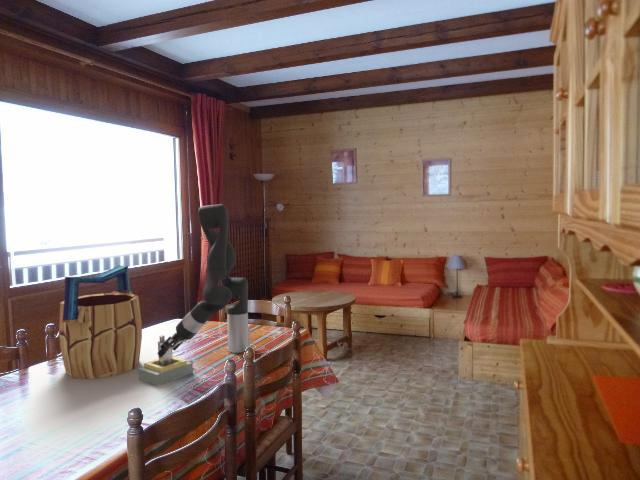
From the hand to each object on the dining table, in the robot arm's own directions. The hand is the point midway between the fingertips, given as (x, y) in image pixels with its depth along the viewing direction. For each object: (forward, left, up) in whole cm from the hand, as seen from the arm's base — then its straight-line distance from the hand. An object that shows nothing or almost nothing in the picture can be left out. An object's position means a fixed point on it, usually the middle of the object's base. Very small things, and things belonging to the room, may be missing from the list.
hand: (166, 352), depth 180 cm
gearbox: (-2, 0, -9) cm, 10 cm away
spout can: (0, 0, -7) cm, 7 cm away
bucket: (+9, -30, -10) cm, 33 cm away
